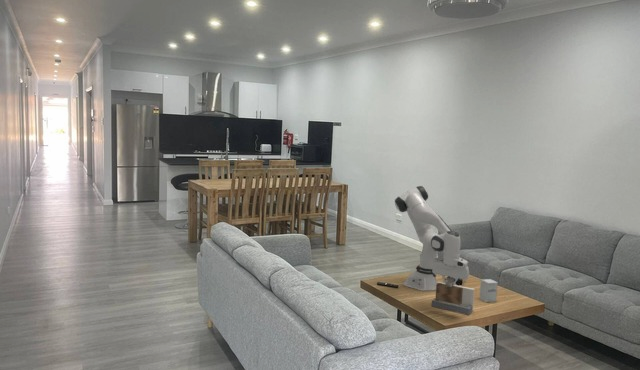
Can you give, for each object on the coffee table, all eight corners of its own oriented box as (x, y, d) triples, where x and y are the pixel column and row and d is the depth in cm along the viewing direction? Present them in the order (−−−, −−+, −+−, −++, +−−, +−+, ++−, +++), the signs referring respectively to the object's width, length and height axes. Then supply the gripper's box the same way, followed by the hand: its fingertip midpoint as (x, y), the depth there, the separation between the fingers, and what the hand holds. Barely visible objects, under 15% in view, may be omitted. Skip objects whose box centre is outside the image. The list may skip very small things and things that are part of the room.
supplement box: (486, 302, 288) (487, 282, 286) (479, 298, 295) (480, 279, 293) (496, 302, 290) (498, 282, 288) (489, 298, 297) (490, 278, 295)
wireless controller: (445, 277, 339) (447, 254, 338) (465, 279, 335) (467, 256, 333) (443, 285, 320) (445, 260, 319) (464, 287, 316) (466, 263, 314)
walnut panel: (435, 299, 267) (436, 277, 266) (437, 297, 270) (438, 276, 269) (459, 305, 260) (461, 282, 258) (461, 303, 263) (463, 280, 262)
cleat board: (431, 306, 277) (433, 285, 276) (436, 302, 285) (438, 281, 284) (469, 314, 266) (470, 292, 264) (473, 310, 273) (474, 288, 272)
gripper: (431, 258, 265) (430, 281, 267) (467, 264, 255) (466, 288, 256) (435, 256, 271) (433, 279, 272) (470, 262, 260) (469, 286, 262)
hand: (449, 283), depth 264 cm, fingers closed on walnut panel, 3 cm apart
